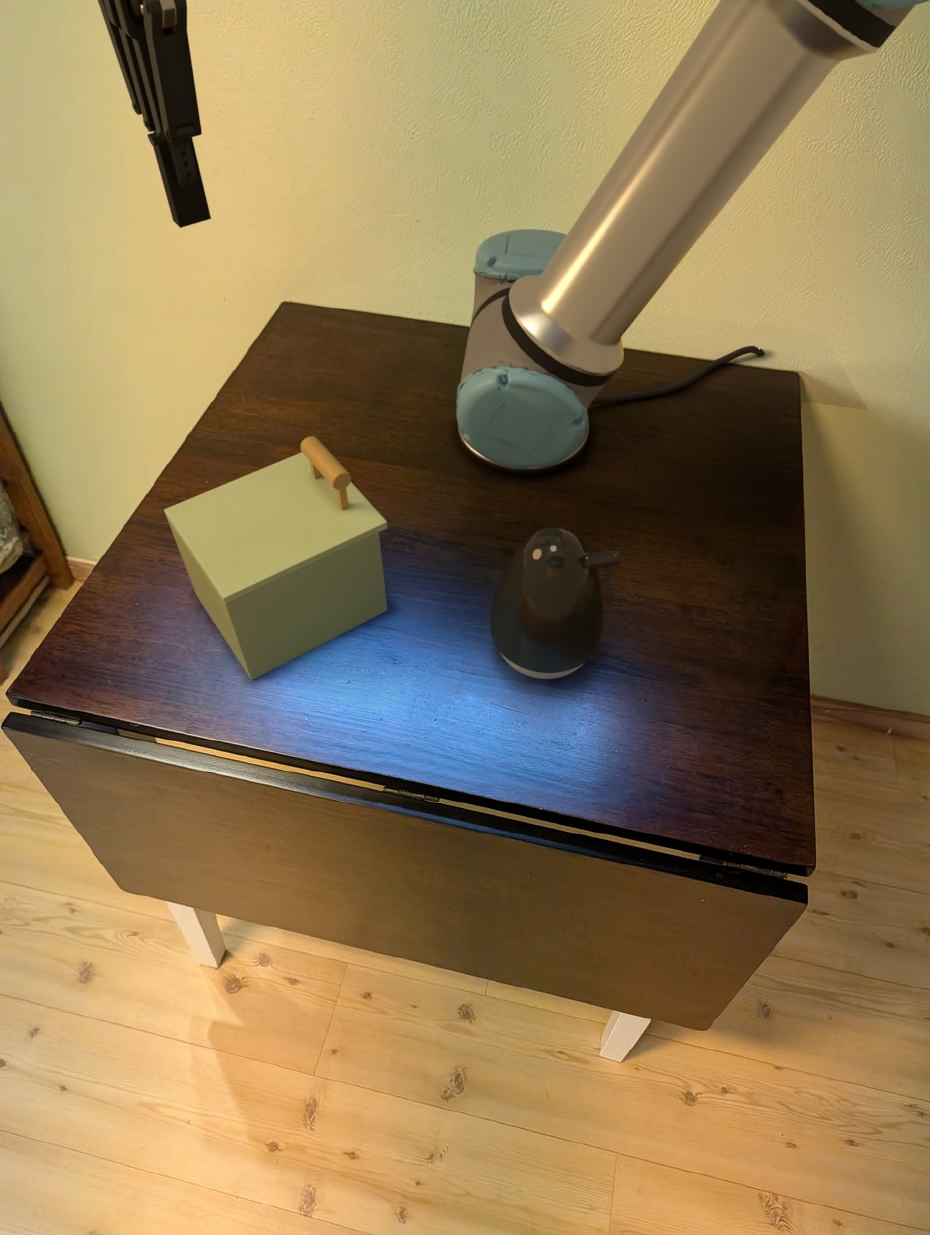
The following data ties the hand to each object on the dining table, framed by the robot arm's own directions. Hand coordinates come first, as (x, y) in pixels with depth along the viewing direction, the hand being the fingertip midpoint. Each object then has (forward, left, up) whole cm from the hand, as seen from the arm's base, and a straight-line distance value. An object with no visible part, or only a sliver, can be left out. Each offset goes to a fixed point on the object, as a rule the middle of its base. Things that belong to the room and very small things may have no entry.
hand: (192, 219), depth 69 cm
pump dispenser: (-28, +24, -31) cm, 48 cm away
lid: (-4, +16, -20) cm, 26 cm away
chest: (-4, +16, -30) cm, 35 cm away
